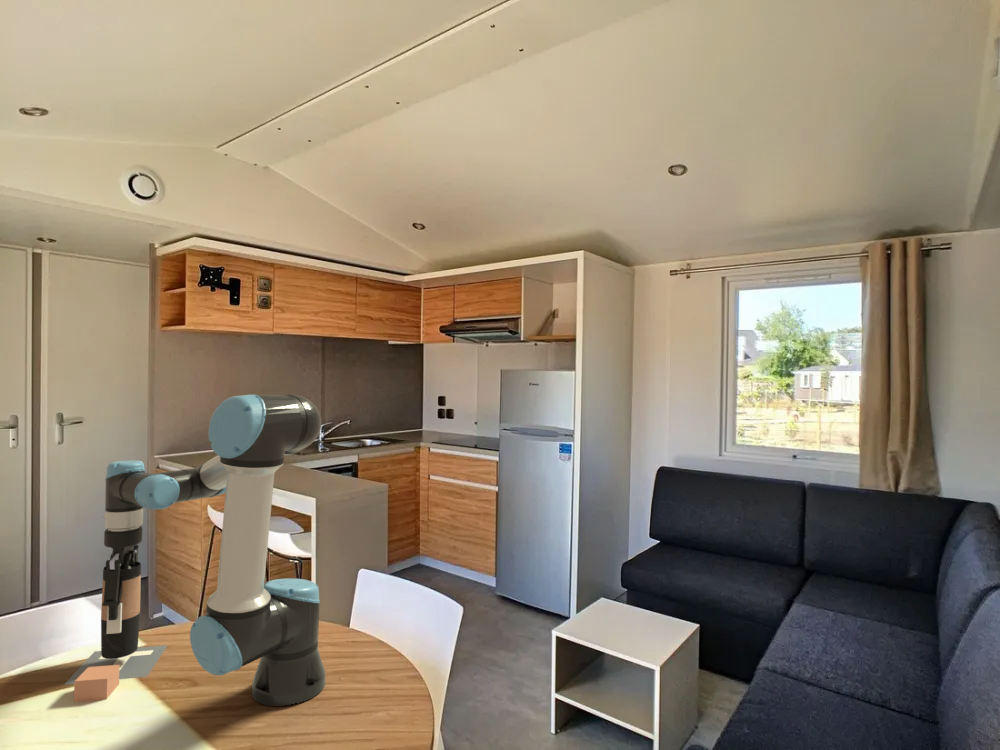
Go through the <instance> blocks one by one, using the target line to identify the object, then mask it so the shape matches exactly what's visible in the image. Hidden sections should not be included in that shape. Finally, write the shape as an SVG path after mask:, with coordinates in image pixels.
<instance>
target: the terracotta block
mask: <svg viewBox="0 0 1000 750" xmlns="http://www.w3.org/2000/svg"><path fill="white" fill-rule="evenodd" d="M73 685H74V687H73V690H74V691H73V703H78V702H90V701H91V702H92V701H102V700H107V699H108V698H109V697H110V696H111V695H112V693H114V691H115V690H116V688H118V686H119V685H120V679H119V665H109V666H96V667H88V668H87V669H86V670H85V671H84V672H83V673H82V674H81V675H80V676H79V677H78V678H77V679H76V680H75V682H74V684H73Z"/></svg>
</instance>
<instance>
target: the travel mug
mask: <svg viewBox="0 0 1000 750" xmlns="http://www.w3.org/2000/svg"><path fill="white" fill-rule="evenodd" d="M141 575H142V563H141V562H139V561H138V562H135V564H134V566H133V567H130V566H128V569H127V570H122V569H120V578H121V577H122V576H123V583H122V595H121V602H120V603H122V625H121V632H120V633H113V634H107V606H103V605H102V604H103V601H104V590H105V578H106V565H105V566H104V567H103V569H102V586H101V587H102V589H101V591H102V592H101V609H100V610H101V612H100V622H101V623H100V644H101V646H100V647H101V648H100V649H101V650H100V651H101V655H102V657H103V658H107V659H115V658H121V657H125V656H128V655H130V654H132V653H134V652H135V651H136V650H137V648H139V646H138V645H139V634H140V632H139V631H140V619H141V618H140V617H141V588H142V587H141V584H142V583H141V581H142V580H141V579H142V577H141ZM111 600H112V599H111Z"/></svg>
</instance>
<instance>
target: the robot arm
mask: <svg viewBox="0 0 1000 750" xmlns="http://www.w3.org/2000/svg"><path fill="white" fill-rule="evenodd" d="M321 428H322V418H321V414H320V411H319V409H318V408H317V406H316V405H315V404H314V403H313V402H312V401H311V400H309V399H308V398H306V397H305V396H301V395H299V394H298V395H297V394H254V393H253V394H245V395H234V396H230V397H228V398H226V399H224V400H223V401H222V402H221V404H219V405H217V406H216V408H215V410H214V412H213V413H212V415H211V417H210V421H209V425H208V441H209V442H210V443H211V444H210V447H211V449H212V451H213V453H215V454H216V456H214V457H212V458H211V459H209V460H208V461H206V462H204V463H203V464H200V465H199V466H197V467H193V468H186V469H179V470H178V469H177V470H170V471H163V472H153V473H152V472H146V469H145V464H144V462H143V461H141V460H137V459H136V460H131V459H129V460H118V461H117V460H116V461H113V462H110V463H108V464H107V467H106V474H105V475H106V477H105V478H104V479H105V494H104V495H105V496H104V497H105V498H104V499H105V501H104V504H105V507H104V508H105V512H104V513H103V514H102V518H104V528H105V530H104V531H103V533H104V534H103V536H104V537H103V545H104V547H105V548H110V549H112V553H111V555H110V557H109V559H107V560H106V562H105V566H106V578H105V590H104V601H103V604H102V603H101V606H102V605H103V606H107V634H113V633H120V632H121V625H122V603H120V602H121V595H122V583H123V576H122V577H121V578H120V569H122V570H127V569H128V566H130V567H133V566H134V564H135V562H139V558H138V557H139V556H138V555H139V547H140V546H139V544H141V543H142V541H143V527H142V526H141V525H144V508H145V509H149V510H165V509H168V508H170V507H171V506H172V505H173V504H177V503H182V502H188V501H193V500H200V499H207V498H214V497H217V496H221V495H223V494H225V496H224V497H225V498H224V507H223V517H222V518H223V521H222V530H221V540H220V541H221V542H220V550H219V551H220V552H219V559H218V560H219V562H218V570H217V571H218V573H217V583H216V590H215V591H214V592H213V593H212V594H211V595H209V597H208V598H207V601H206V610H205V611H206V612H205V614H204V615H201V616H199V617H198V618H197V619H195V621H194V622H192V625H191V627H190V631H189V641H190V645H191V649H192V653H193V655H194V657H195V659H196V661H197V662H198V664H199V666H200V667H202V669H204V671H206V672H207V673H208V674H210V675H213V676H224V675H226V674H228V673H231V672H233V671H238V670H240V669H241V668H242V667H245V666H247V665H249V664H250V663H253V662H255V661H256V660H257V661H258V659H259V662H258V665H257V668H256V671H255V674H254V677H253V680H252V684H251V685H252V686H251V696H252V698H253V700H254V701H256V702H257V703H259V704H261V705H264V706H269V707H270V706H271V707H285V705H287V706H292V705H291V704H293V705H296V704H295V703H297V704H300V702H301V703H303V701H304V702H307V701H308V700H310V699H312V698H315V696H317V695H319V694H320V693H321V692H322V690H324V688H325V686H326V670H325V667H324V663H323V660H322V657H321V655H320V652H319V626H320V625H319V622H320V604H321V601H320V590H319V586H318V584H316V583H315V582H313V581H311V580H308V579H304V578H303V579H302V578H291V577H289V578H287V577H286V578H276V579H272V580H269V581H267V582H265V579H266V578H265V577H266V568H267V558H268V557H267V555H268V547H269V535H270V525H271V517H272V516H271V512H272V503H273V493H274V483H275V473H276V471H278V470H279V469H280V468H281V467H283V465H284V461H285V456H292V455H294V454H296V453H298V452H300V451H302V450H304V449H306V448H308V447H309V446H310V445H312V444H313V443H314V442H315V441H316V440H317V439H318V436H319V435H320V433H321ZM111 599H112V600H111Z"/></svg>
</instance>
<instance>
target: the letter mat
mask: <svg viewBox="0 0 1000 750" xmlns="http://www.w3.org/2000/svg"><path fill="white" fill-rule="evenodd" d="M168 646H169V645H168V644H165V645H164V644H163V645H154V646H153V645H152V646H151V645H150V646H142V647H138V648H137V650H136V651H135V652H134V653H132V654H130V655H128V656H125V657H121V658H115V659H107V658H103V657H102V655H101V650H95V651H93V653H91V655H90V656H89V657H87V659H86V660H85V662H84V663H82V665H80V667H79V668H78V669H77V670H76V671H75V672H74V673H72V675H71V677H70V678H68V679H67V680H66V682H65V683H64V685H66V686H67V685H74V682H75V680H76V679H77V678H78V677H79V676H80V675H81V674H82V673H83V672H84V671H85V670H86V669H87V668H88V667H96V666H109V665H119V680H126V679H127V680H129V679H134V678H136V679H137V678H146V677H148V675H149V674H150V673H151V671H152V669H154V667H155V665H156V663H158V661H159V659H160V658H161V656H162V655H163V653H164V652H165V650H166V649H167V648H168Z"/></svg>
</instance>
